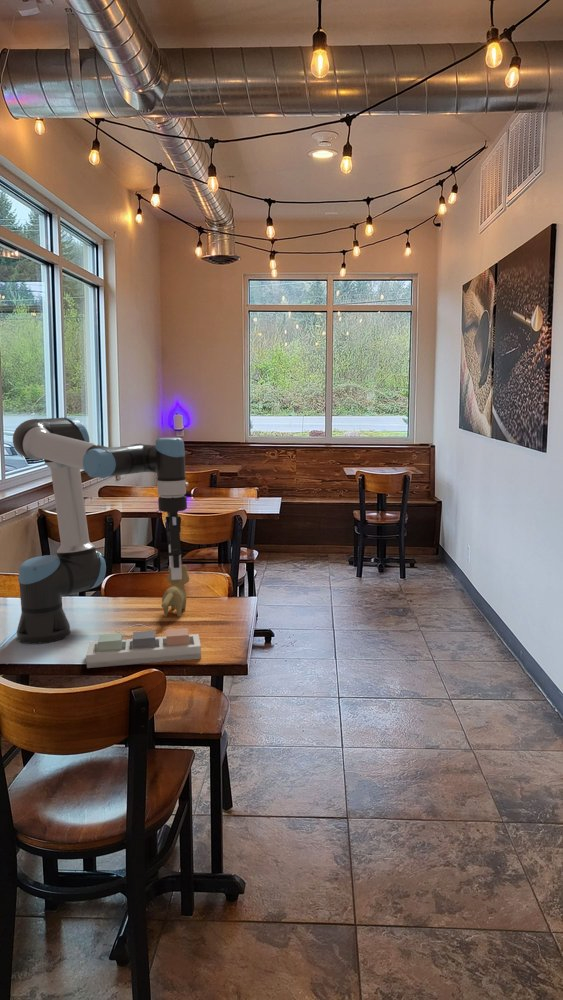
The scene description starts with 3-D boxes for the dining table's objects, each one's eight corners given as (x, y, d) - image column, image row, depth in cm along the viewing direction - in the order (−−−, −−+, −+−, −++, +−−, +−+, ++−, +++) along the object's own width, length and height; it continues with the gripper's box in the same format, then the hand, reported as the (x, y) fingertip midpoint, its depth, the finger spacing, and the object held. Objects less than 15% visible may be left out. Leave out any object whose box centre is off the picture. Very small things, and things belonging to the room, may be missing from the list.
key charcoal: (132, 647, 187) (132, 639, 187) (133, 640, 193) (133, 632, 193) (155, 646, 188) (155, 637, 188) (155, 638, 194) (155, 630, 194)
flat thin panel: (146, 641, 203) (115, 631, 212) (146, 643, 203) (115, 632, 212) (169, 633, 209) (138, 623, 219) (169, 634, 210) (138, 625, 219)
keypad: (86, 668, 184) (86, 655, 183) (90, 654, 193) (89, 642, 193) (201, 658, 189) (200, 646, 188) (198, 645, 199) (198, 633, 198)
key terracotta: (166, 645, 189) (166, 636, 188) (166, 637, 195) (166, 629, 194) (189, 643, 190) (188, 634, 189) (188, 636, 196) (187, 627, 195)
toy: (193, 604, 239) (191, 561, 237) (175, 627, 215) (173, 580, 213) (172, 603, 240) (170, 561, 237) (152, 627, 216) (150, 579, 213)
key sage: (98, 650, 185) (97, 642, 185) (99, 642, 191) (99, 634, 191) (121, 648, 187) (121, 640, 186) (122, 641, 192) (121, 632, 192)
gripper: (189, 501, 175) (192, 583, 178) (183, 489, 199) (186, 561, 203) (159, 503, 174) (162, 585, 177) (157, 490, 198) (160, 563, 201)
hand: (175, 573), depth 190 cm, fingers open, 13 cm apart
